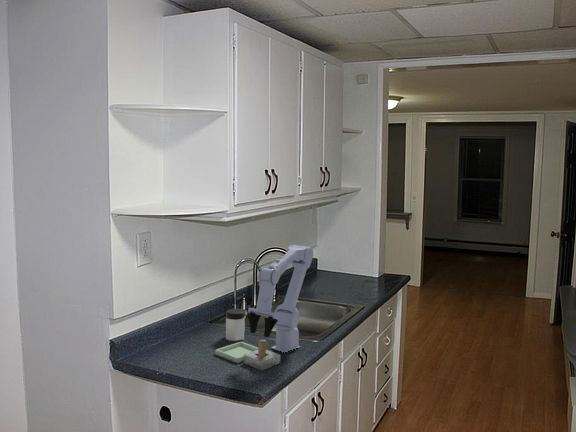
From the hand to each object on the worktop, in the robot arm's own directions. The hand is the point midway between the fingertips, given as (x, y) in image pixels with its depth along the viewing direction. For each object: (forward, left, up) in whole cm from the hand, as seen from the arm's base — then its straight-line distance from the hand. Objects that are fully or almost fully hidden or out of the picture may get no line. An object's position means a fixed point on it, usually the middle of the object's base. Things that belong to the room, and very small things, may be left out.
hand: (259, 334), depth 215 cm
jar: (-13, -28, -12) cm, 33 cm away
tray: (-1, -12, -11) cm, 17 cm away
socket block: (-1, +1, -11) cm, 12 cm away
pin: (-1, +1, -11) cm, 12 cm away
